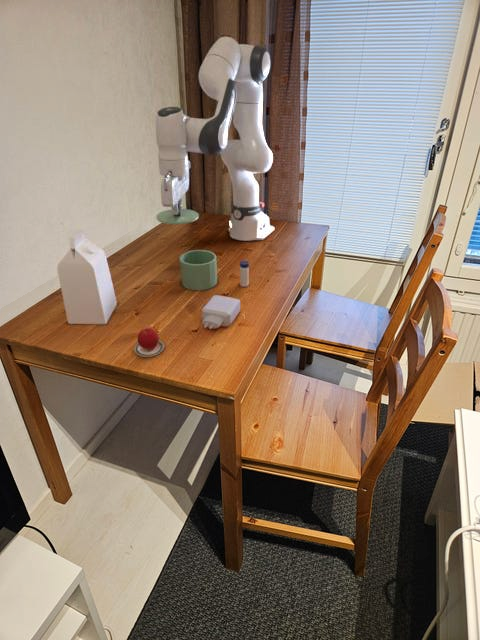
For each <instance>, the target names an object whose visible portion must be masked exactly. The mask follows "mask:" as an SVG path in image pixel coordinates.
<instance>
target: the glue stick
mask: <svg viewBox="0 0 480 640" xmlns="http://www.w3.org/2000/svg"><path fill="white" fill-rule="evenodd" d="M249 276H250V262H249V261H247V260H241V261H240V262H239V286H240V287H243V288H245V287H249V284H250V282H249V280H250V279H249V278H250V277H249Z"/></svg>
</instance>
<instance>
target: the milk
mask: <svg viewBox="0 0 480 640" xmlns="http://www.w3.org/2000/svg"><path fill="white" fill-rule="evenodd" d="M68 239H69V240H68V241H69V250H68V251H67V252H66V254H65V255H64V256H63V257H62V258H61V260H60V261H58V264H57V267H56V269H57V270H56V271H57V274H58V275H57V276H58V280H59V284H60V290H61V294H62V295H61V296H62V299H63V304H64V305H63V306H64V310H65V315H66V319H67V320H66V321H67V324H72V325H73V324H74V325H107V324H108V321H109V320H110V318H111V316H112V314H113V313H114V311H115V309H116V307H117V305H118V302H117V298H116V293H115V289H114V284H113V280H112V276H111V271H110V267H109V263H108V260H107V255H106V253H105V251H104V250H103V248H100V246H98V245H96V244H95V243H94V242H93V241H91V240H89V239H88V238H86V236H85V234H84V232H83V230H76V231H75V232H74V233H73V234H72V235H71V236H70V237H69V238H68Z"/></svg>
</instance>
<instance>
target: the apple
mask: <svg viewBox="0 0 480 640" xmlns="http://www.w3.org/2000/svg"><path fill="white" fill-rule="evenodd" d="M164 348H165V344H164V342H163V341H161V340H160V336H159V334H158V332H157V331H156V329H154V328H151V327H147V328H144V329H141V330H140V331H139V333H138V334H137V344H135V346H134V348H133V351H134V353H135V354H136V355H137V356H139V357H142V358H152V357H154V356H155V357H156V356H157V355H159V354H161V353H162V352H163V351H164Z"/></svg>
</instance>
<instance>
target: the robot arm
mask: <svg viewBox="0 0 480 640" xmlns="http://www.w3.org/2000/svg"><path fill="white" fill-rule="evenodd" d="M271 61H272V60H271V54H270V51H269V50H268V48H266V47H265V46H262V45H258V44H255V45H253V44H245V43H239V42H238V41H237V40H236V39H234V38H233V37H231V36H222V37H219V38H218V39H217V40H216V41H215V42H214V43H213V45H211V47H210V49H209V50H208V52H207V54H206V55H205V57H204V59H203V60H202V63H201V65H200V67H199V71H198V82H199V86H200V87H201V89H202V90H203V92H204V93H205V94H206V95H207V96H208V97H209V98H211V99H213V100H215V101H217V105H216V108H215V112H214V115H213V116H212V117H209V118H198V117H197V118H196V117H190V116H188V115H187V114H185V113H184V111H183V108H181V107H178V106H168V107H164V108H160V109H159V110H158V111H157V112H156V116H155V139H156V145H157V147H158V154H157V160H158V161H157V162H158V169H159V175H160V176H162V177H163V178H162V180H161V181H160V197H161V205H162V207H167V208H171V209H172V214H173V215H178V213H179V208H178V205H177V204H180V205H181V210H182V209H183V196H184V195H186V193H187V192H188V191H189V188H190V169H191V161H190V160H189V155H188V153H187V152H190V153H196V154H204V155H208V156H212V157H217V156H219V155H220V157H221V160H222V162H223V163H224V164H225V166H226V168H227V171H228V173H229V177H230V180H231V186H232V187H231V188H232V203H231V214H230V220H229V221H228V222H229V228H228V233H229V237H230V238H232V239H233V240H237V241H243V242H245V241H246V242H247V241H263V240H265V239H266V238H267V237H268V236H269V235H271V233H273V232H274V231H275V227H274V226H273V225H271V224H270V217H269V216H268V213H267V211H268V210H266V211H265V213H264V212H263V211H262V209H261V208H264V207H265V202H261V201H259V200H260V199H259V198H260V186H259V183H258V181H257V180H256V178H255V177H254V174H265V173H268V171H269V170H271V168H272V165H273V161H274V155H273V152H272V150H271V149H270V147H269V146H268V144H267V142H266V138H265V133H264V128H263V108H264V107H263V104H264V103H263V102H264V87H263V86H264V85H263V82H264V81H265V79H266V78H267V77H268V76H269V73H270V70H271V63H272V62H271ZM232 118H233V119H232ZM232 120H233V122H232ZM231 122H232V123H233V126H234V128H235V129H236V130H237V133H238V135H239V139H230V140H229V132H230V131H229V130H230V126H231Z"/></svg>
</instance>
